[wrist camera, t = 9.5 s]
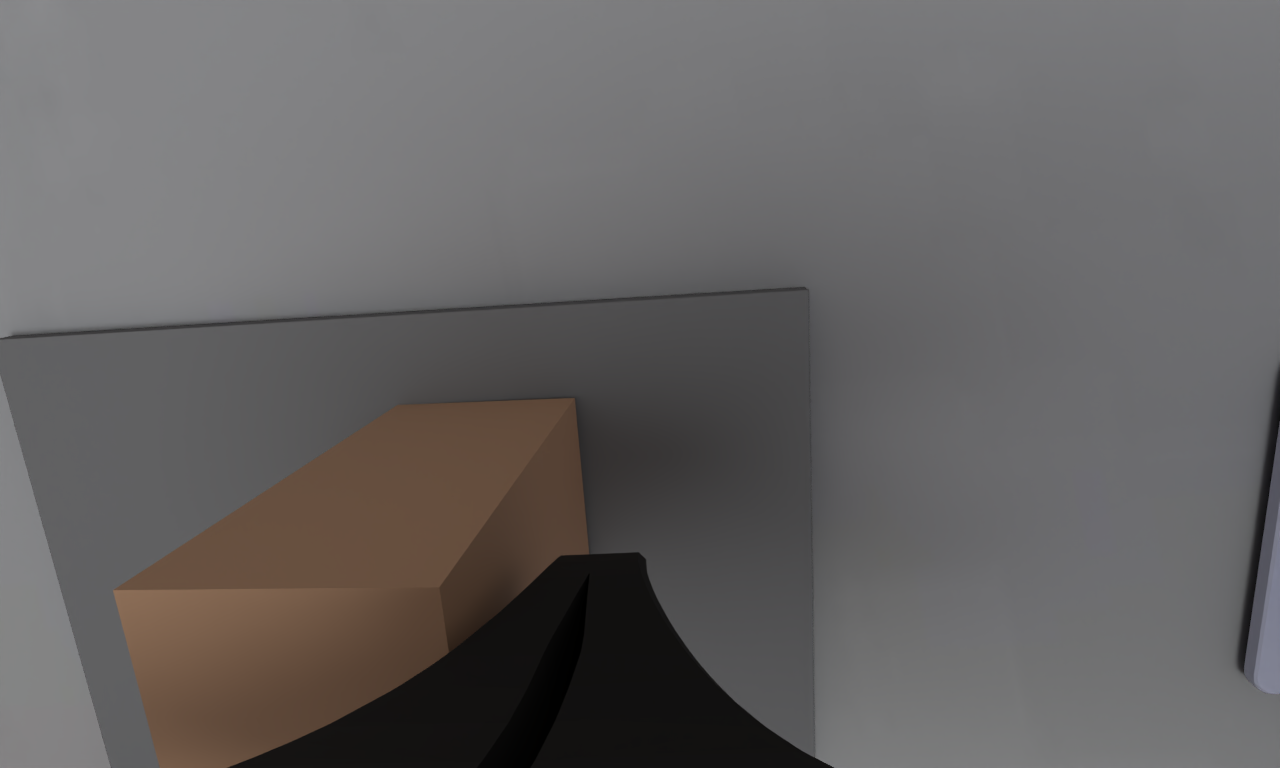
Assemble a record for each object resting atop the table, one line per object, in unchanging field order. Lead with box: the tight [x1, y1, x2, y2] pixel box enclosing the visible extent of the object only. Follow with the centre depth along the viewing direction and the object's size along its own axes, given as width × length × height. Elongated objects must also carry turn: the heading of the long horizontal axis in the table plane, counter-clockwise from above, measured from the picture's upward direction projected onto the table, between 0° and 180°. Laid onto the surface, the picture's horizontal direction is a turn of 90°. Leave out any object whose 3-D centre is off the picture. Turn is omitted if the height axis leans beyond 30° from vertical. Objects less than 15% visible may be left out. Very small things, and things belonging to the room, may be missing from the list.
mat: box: [0, 287, 815, 768], centre depth 18 cm, size 18×12×1 cm, turn 94°
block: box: [113, 398, 589, 768], centre depth 13 cm, size 4×4×8 cm
